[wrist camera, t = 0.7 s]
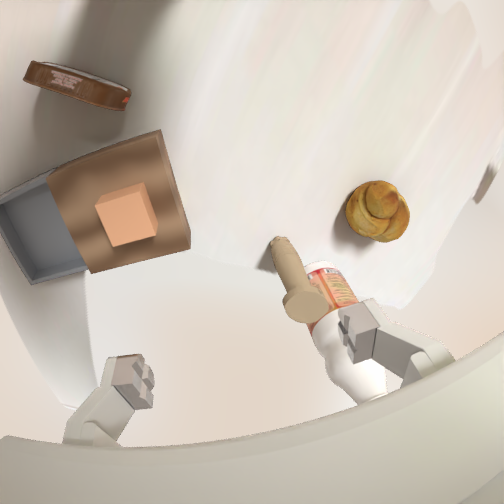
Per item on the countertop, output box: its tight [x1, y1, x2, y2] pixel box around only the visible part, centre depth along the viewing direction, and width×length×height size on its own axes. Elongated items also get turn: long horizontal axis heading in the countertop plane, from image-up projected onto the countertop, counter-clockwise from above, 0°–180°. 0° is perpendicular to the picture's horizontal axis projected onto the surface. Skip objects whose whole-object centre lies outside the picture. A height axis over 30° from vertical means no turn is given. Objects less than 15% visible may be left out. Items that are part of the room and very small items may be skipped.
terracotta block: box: [95, 182, 158, 247], centre depth 34 cm, size 6×6×3 cm
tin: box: [23, 61, 131, 111], centre depth 25 cm, size 15×3×8 cm, turn 60°
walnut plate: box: [45, 129, 191, 274], centre depth 37 cm, size 16×16×5 cm
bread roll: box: [346, 181, 410, 242], centre depth 44 cm, size 13×10×8 cm
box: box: [0, 167, 88, 285], centre depth 37 cm, size 16×14×4 cm
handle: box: [270, 236, 329, 323], centre depth 42 cm, size 5×6×15 cm
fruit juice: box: [304, 261, 388, 405], centre depth 43 cm, size 9×9×28 cm
